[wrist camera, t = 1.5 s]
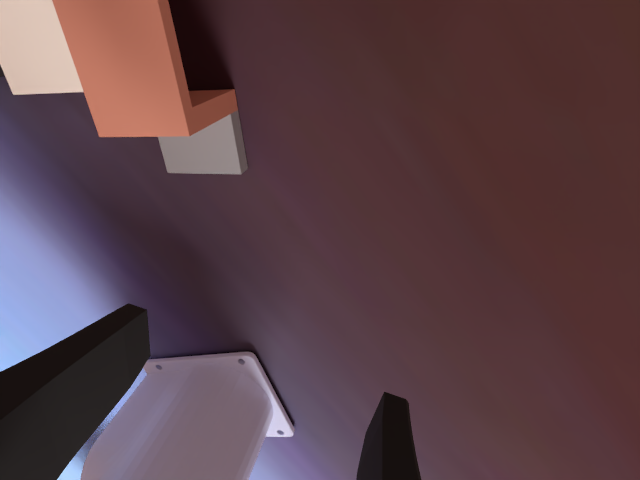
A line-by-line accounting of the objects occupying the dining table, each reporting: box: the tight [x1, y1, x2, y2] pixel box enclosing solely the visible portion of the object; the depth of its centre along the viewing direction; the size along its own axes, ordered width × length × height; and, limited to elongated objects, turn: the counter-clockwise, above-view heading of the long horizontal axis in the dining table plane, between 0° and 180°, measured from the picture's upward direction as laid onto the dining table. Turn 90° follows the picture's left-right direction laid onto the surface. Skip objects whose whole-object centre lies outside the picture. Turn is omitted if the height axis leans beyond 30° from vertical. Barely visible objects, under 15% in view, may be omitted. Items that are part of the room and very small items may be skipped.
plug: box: [0, 0, 84, 95], centre depth 18 cm, size 10×4×3 cm, turn 95°
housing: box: [52, 0, 248, 174], centre depth 16 cm, size 4×13×4 cm, turn 4°
